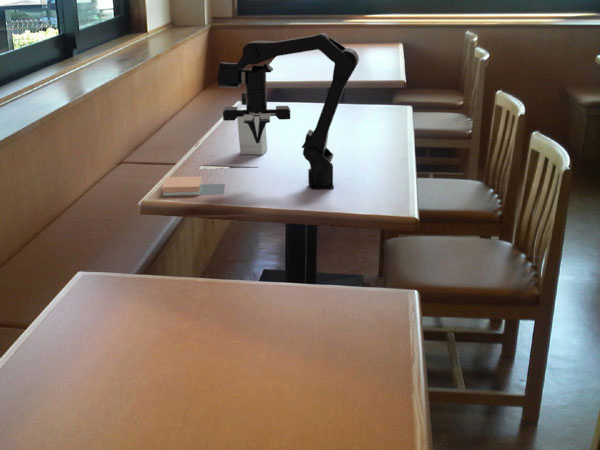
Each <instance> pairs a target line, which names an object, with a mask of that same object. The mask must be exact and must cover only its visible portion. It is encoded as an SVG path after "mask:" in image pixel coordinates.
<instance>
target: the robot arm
mask: <svg viewBox="0 0 600 450" xmlns="http://www.w3.org/2000/svg"><path fill="white" fill-rule="evenodd" d="M316 50H318V51H320V52H321V53H322V54H323V55H324V56H326V57H327V59H328V60H330V61H331V62H333V64H334V65H333V73H332V82H331V84H330V87H329V90H328V93H327V94H326V95H327V96H326V99H325V101H324V104H323V106H322V109H321V112H320V113H319V114H320V115H319V117H318V120H317V123H316V125H315V128H314V130H313V129H308V131H307V133H306V135H305V141H304V143H303V144H302V146H301V148H302V149H303V151H302V155H303V157H304V159H305V160H306V161H308V162H309V166H310V168H308V170H307V171H308V172H307V173H308V174H307V179H308V180H307V181H308V185H309V186H310V189H311V190H319V189H321V190H324V189H327V190H328V189H329V190H330V189H334V188H335V186H334V165H333V162H332V159H333V158H334V153H333V152H331V150H330V149H329V148H327V146H328V139H329V133H330V132H329V131H330V128H331V126H332V122H333V120H334V117H335V114H336V112H337V109H338V106H339V105H340V104H339V103H340V101H341V98H342V95H343V92H344V90H345V87H346V84H347V83H348V81H349V80H350V78H351V76H352V75H353V73H354V71H355V69H356V67H357V65H358V64H359V60H360V58H359V54H358V52H357V51H356V50H354V49H353V48H349V47H348V48H347V47H345V46H344V45H342V44H341V43H339V42H338V41H336V40H334V39H333V38H332V37H330V36H329V35H328V34H327V33H324V32H320V33H317V34H313V35H307V36H302V37H301V36H300V37H294V38H290V39H289V38H288V39H283V40H277V41H276V40H267V39H266V40H259V39H258V40H257V39H256V40H252V41H250V42H248V43H247V44H245V45H244V47H243V49H242V53H241V54H242V56H241V57H240V59H239V60H238V61H237V62H225V61H221V62H219V63H218V71H217V76H216V80H217V85H218V87H219V88H236V89H240V88H241V85H244V83H245V92H241V105H242V106H245V108H246V110H240V109H238V106H224V108H223V110H222V120H223V121H227V122H228V121H231V122H232V121H235V120H236V119H237V117H243V118H244V123H247V124H248V125H249V127H250V129H251V131H252V133H253V136H254V138H255V141H256V143H259V142H260V138H261V135H262V132H263V129H264V127H265V125H266V124H269V123H270V122H271V117H276V118H277V119H278V120H291V108H290V107H289V106H288V105H275V108H271V109H270V108H269V109H268V105H267V104H268V103H267V102H268V100H267V73H271V72H272V71H274V67H272V66H270V64H269V63H268V62H267V61H268V60H272V59H273V58H276V57H282V56H286V55H293V54H299V53H305V52H310V51H316ZM263 62H265V63H264V64H262V65H261V63H263ZM250 65H252V68H251V67H250V68H247V67H248V66H250ZM254 116H260V117H259V128H258V138H257V131H256V125H255V118H254ZM266 126H267V125H266Z"/></svg>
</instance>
